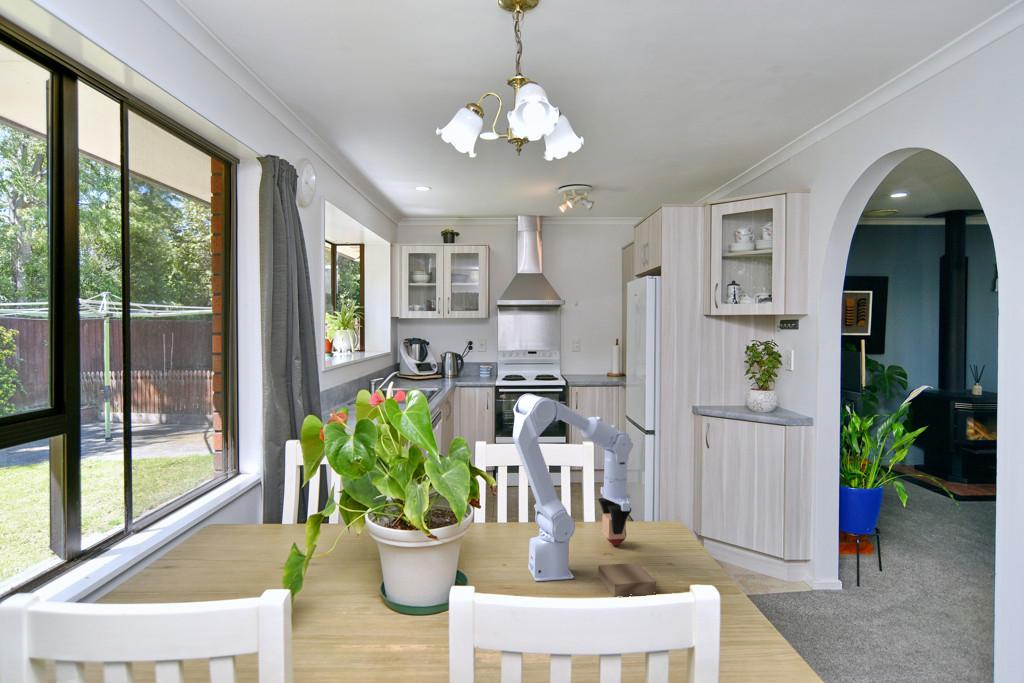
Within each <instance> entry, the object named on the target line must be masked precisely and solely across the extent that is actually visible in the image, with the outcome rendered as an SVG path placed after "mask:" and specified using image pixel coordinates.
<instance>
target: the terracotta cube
mask: <svg viewBox="0 0 1024 683" xmlns="http://www.w3.org/2000/svg"><path fill="white" fill-rule="evenodd" d="M626 523H627V521H626V522H625V525H624V528H623V532H622V534H613V529H612V519H611V514H610V513H609V514H603V513H602V522H601V533H602V534H603V536H604V537H605V538H606V537H607V538H608V539H625V540H626V538H625V534H626V535H627V528H626V526H627V524H626ZM607 538H606V539H607Z"/></svg>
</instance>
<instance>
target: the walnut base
mask: <svg viewBox="0 0 1024 683" xmlns="http://www.w3.org/2000/svg"><path fill="white" fill-rule="evenodd" d="M597 570H598V571H597V578H598V580H599V581H600V582H601V583H602V585H603V586H604V587H605V588H606V589H607V591H608V592H609V593H610V594H611V595H612V597H613V598H614V597H617V596H631V597H641V596H642V595H644V596H653V594H656V595H657V580H655V578H654V577H653V576H652V575H651V574H650V573H649V572H647V570H646V569H644V568H643V567H642V566H641V565H640V564H639V563H638V562H631V563H630V562H629V563H628V562H627V563H618V564H617V563H614V564H599V565H598V568H597ZM654 592H655V593H654ZM630 594H632V595H630Z"/></svg>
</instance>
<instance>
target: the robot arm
mask: <svg viewBox="0 0 1024 683" xmlns="http://www.w3.org/2000/svg"><path fill="white" fill-rule="evenodd" d="M513 414H514V419H513V420H514V422H513V430H512V440H513V442H514V445H515V447H516V448H515V449H516V450H517V453H518V456H519V459H520V462H521V465H522V467H523V469H524V472H525V474H526V477H527V480H528V483H529V486H530V488H531V491H532V494H533V497H534V499H535V501H536V503H535V504H534V505H533V507H534V511H535V518H534V520H535V523H536V525H537V528H539V535H537V536H534V537H530V539H529V546H528V565H527V568H528V571H529V572H530V574H531V575H532V577H533V579H534V581H536V582H543V581H544V582H545V581H559V580H571V579H574V578H575V576H574V575H573V573H572V572H571V570H570V569H569V560H570V558H569V557H570V556H569V554H570V541H571V538H572V537H573V535H574V533H575V531H576V530H575V529H576V522H575V520H574V518H573V517H572V516H571V515H570V514H569V513H568V511H567V509H566V507H565V505H564V504H563V503H562V502H561V499H559V497H558V494H557V492H556V489H555V486H554V483H553V480H552V478H551V475H550V471H549V469H548V467H547V463H546V461H545V458H544V456H543V452H542V450H541V447H540V444H539V441H538V439H539V437H540V436H541V434H542V433H543V432H544V431H545V430H546V429H547V427H548V426H549V425H550V424H552V422H553V421H554V422H558V421H562V422H564V423H565V424H569V425H570V426H573V427H574V428H577V429H578V430H579V431H581V435H582V437H583V438H585V439H586V440H587V441H588V440H589V442H592V443H593V444H596V445H597V446H600V447H601V449H603V450H604V466H603V467H604V469H603V472H604V473H603V486H600V495H601V496H602V497H600V498H598V503H599V504H600V507H601V508H600V509H601V511H602V515H603V514H609V513H610V514H611V519H612V529H613V534H622V532H623V528H624V525H625V522H626V523H627V518H628V517H629V515H630V514H631V512H632V507H631V503H630V501H629V499H630V498H631V494H630V493H628V492H627V486H628V485H627V483H628V482H627V480H628V478H627V477H628V476H627V475H628V460H629V459H630V458H629V457H630V456H629V455H630V453H631V452H632V449H633V446H634V443H633V442H632V438H631V437H630V435H629V434H628V433H627V432H623V431H620V430H618V429H617V426H616V425H613V424H611V425H610V424H608V423H606V422H604V418H602V417H600V416H591V417H585V416H583V415H582V414H580V413H578V412H576V411H575V410H574V409H572V408H570V407H568V405H567V406H566V405H565V404H563V403H561V402H559V401H556V400H552V399H551V398H549V397H543V396H540V395H539V396H538V395H535V394H534V393H533V394H532V393H525V394H523V395H521V396H519V398H518V400H517V402H516V403H515V404H514V407H513Z"/></svg>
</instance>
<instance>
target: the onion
mask: <svg viewBox="0 0 1024 683" xmlns="http://www.w3.org/2000/svg"><path fill="white" fill-rule="evenodd" d="M605 538H606V539H607V541H608V542H609V543H610V544H611V545H612V546H614V547H618V546H619V545H620V544H622V543H623V542H624V541H625V540H626V539H627V533H626V534H625V539H608V538H607V537H606V536H605Z"/></svg>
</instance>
